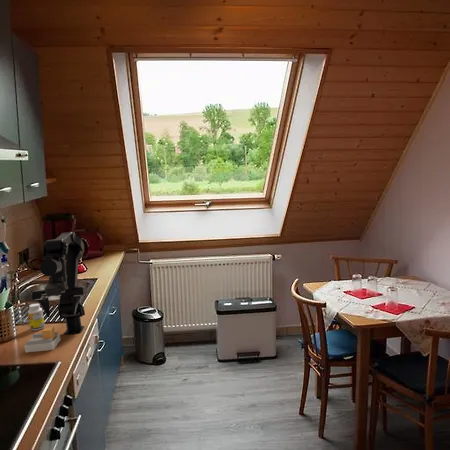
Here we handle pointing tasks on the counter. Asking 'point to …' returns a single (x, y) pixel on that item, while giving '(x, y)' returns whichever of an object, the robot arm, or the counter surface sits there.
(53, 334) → the orange block
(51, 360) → the counter surface
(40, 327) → the supplement bottle
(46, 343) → the grey stepped platform
